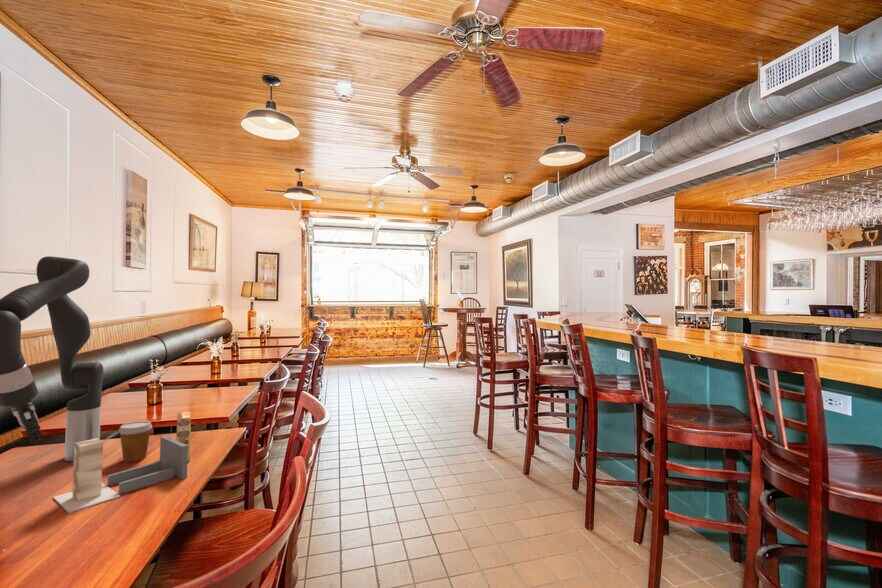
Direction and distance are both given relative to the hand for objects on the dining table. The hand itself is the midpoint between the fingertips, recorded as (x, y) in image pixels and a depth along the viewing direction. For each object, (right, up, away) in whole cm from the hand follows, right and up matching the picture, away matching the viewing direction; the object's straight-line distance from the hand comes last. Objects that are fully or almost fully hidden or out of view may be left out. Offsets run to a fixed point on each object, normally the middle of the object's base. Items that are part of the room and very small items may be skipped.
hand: (33, 434), depth 110 cm
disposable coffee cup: (+3, -20, +33) cm, 38 cm away
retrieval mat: (+11, -19, +4) cm, 23 cm away
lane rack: (+19, -20, +16) cm, 32 cm away
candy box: (+19, -20, +34) cm, 44 cm away
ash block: (+11, -19, +4) cm, 22 cm away
